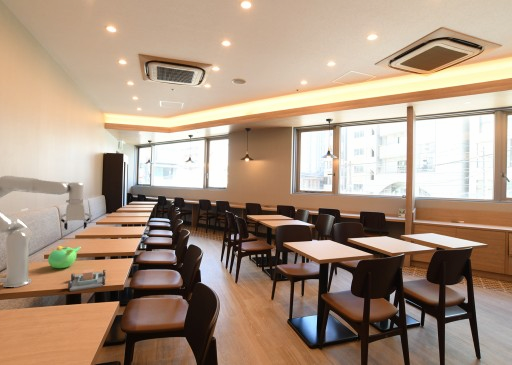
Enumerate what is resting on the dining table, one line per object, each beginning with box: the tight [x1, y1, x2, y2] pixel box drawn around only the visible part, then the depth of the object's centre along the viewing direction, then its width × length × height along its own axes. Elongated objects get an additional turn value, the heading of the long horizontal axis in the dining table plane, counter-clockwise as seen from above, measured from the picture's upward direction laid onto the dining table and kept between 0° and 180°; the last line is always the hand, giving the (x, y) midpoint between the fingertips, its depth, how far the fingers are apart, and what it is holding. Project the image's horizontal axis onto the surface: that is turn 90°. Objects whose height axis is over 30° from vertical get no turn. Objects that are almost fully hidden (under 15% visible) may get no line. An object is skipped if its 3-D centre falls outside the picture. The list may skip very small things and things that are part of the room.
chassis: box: [67, 269, 106, 292], centre depth 163 cm, size 18×21×4 cm
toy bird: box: [47, 245, 82, 269], centre depth 190 cm, size 18×17×15 cm
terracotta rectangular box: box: [82, 268, 94, 281], centre depth 163 cm, size 5×7×6 cm
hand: (75, 229), depth 172 cm, fingers open, 9 cm apart
